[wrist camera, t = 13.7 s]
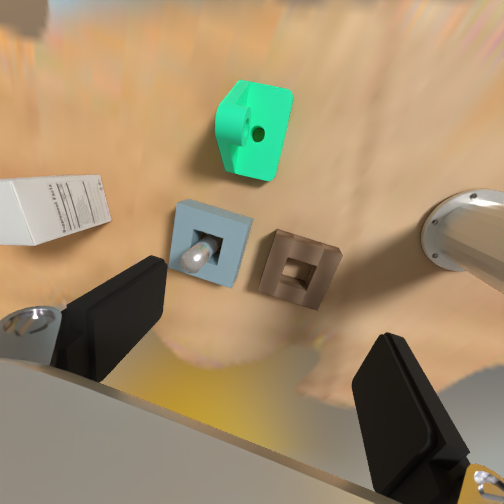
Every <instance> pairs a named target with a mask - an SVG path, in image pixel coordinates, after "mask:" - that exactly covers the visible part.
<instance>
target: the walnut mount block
mask: <svg viewBox="0 0 504 504" xmlns="http://www.w3.org/2000/svg"><path fill="white" fill-rule="evenodd" d="M342 256H343V255H342V253H341V251H340V249H339V248H337V247H334V246H330V245H327V244H324V243H321V242H317V241H314V240H311V239H308V238H305V237H301V236H298V235H295V234H292V233H288V232H285V231H282V230H279V229H277V231H276V234H275V238H274V241H273V244H272V247H271V250H270V253H269V256H268V259H267V262H266V265H265V268H264V271H263V274H262V278H261V281H260V284H259V287H258V292H261V293H265V294H268V295H271V296H274V297H277V298H280V299H283V300H286V301H289V302H292V303H295V304H298V305H301V306H304V307H307V308H310V309H313V310H316V311H317V310H318V308H319V306H320V303H321V301H322V299H323V297H324V295H325V293H326V291H327V288H328V286H329V284H330V282H331V280H332V278H333V276H334V273H335V271H336V269H337V267H338V265H339V263H340V261H341V258H342ZM288 257H290V258H293V259H296V260H299V261H302V262H305V263H309V264H312V268H311V270H310V273H309V275H308V277H307V280H306V282H305V281H302V280H299V279H296V278H292V277H289V276H286V275H283V274H282V272H283V269H284V266H285V263H286V261H287V258H288Z"/></svg>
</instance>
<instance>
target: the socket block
mask: <svg viewBox="0 0 504 504" xmlns="http://www.w3.org/2000/svg"><path fill="white" fill-rule="evenodd" d="M252 222H253V218H249V217H246V216H243V215H240V214H236V213H233V212H230V211H227V210H223V209H220V208H217V207H214V206H211V205H207V204H204V203H201V202H198V201H194V200H191V199H187V200H184V201H181V202H178V203H177V207H176V214H175V221H174V229H173V236H172V243H171V250H170V258H169V265H168V268H171V269H174V270H177V271H180V272H183V273H186V274H189V275H192V276H195V277H198V278H201V279H204V280H207V281H210V282H214V283H217V284H220V285H223V286H226V287H229V288H232V286H233V284H234V282H235V280H236V278H237V276H238V272H239V269H240V265H241V262H242V258H243V254H244V251H245V247H246V244H247V240H248V236H249V233H250V229H251V225H252ZM202 232H205V233H208V234H211V235H215V236H218V237H221V238H224V239H223V243H222V247H221V252H220V255H219V254H216V253H214V254H213V255H212V256H211V258H210V259H209V260H208V261H207V262H206V263H205V264H204V265H203V267H202V268H201V269H200V270H199V271H198V272H197V273H194V274H190V273H187V272H185V271H184V270H183V269H182V268H181V266H180V262H179V261H180V257H181V256H182V255H183V254H184V253H185V252H187V251H188V250H189V249H190V248H191V247H193V246H194V245H195V244H196V243H198V242H199V241H200V238H201V233H202Z"/></svg>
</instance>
